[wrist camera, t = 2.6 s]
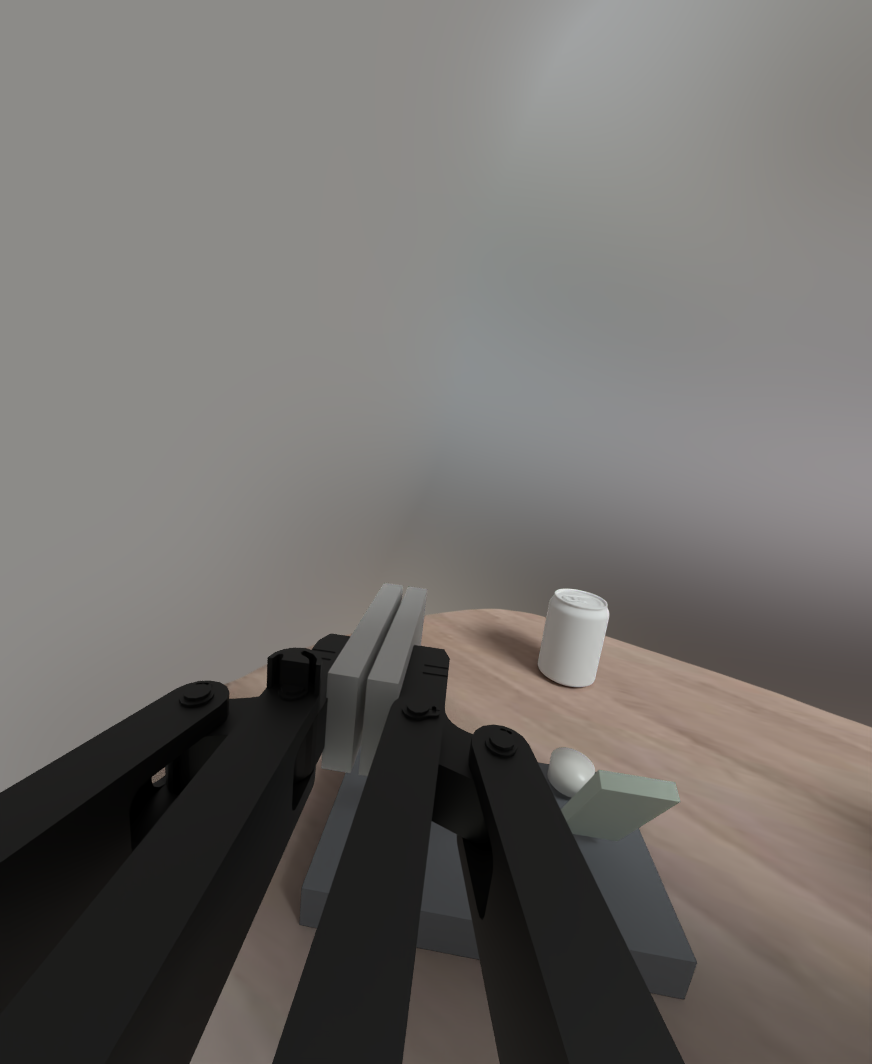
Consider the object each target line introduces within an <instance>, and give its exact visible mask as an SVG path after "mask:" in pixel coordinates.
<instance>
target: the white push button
mask: <svg viewBox="0 0 872 1064" xmlns="http://www.w3.org/2000/svg"><path fill="white" fill-rule="evenodd" d="M594 774H595V768H594V765H593V763H592V762H591V761H590V759H589V758H588V757H586V756H585V755H584V754H582V753H581V752H579V751H577V750H574V749H571V748H565V747H562V748H557V749H555V750H554V751H553V752H552V755H551V759H550V764H549V769H548V779H549V781H550V783H551V784H552V786H553V787H554V788H555V789H556V790H557V791H559V792H560V793H562V794H564V795H566V796H568V797H571V798H572V797H573V796H574V795H575V794H576V793H577V792H578V791H579V790H580V789H581V788H582V787H583V786H584V785H585V784H586V783H587V782H588V781H589V780H590V779H591V777H592V776H593V775H594Z"/></svg>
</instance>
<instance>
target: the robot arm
mask: <svg viewBox="0 0 872 1064" xmlns="http://www.w3.org/2000/svg"><path fill="white" fill-rule="evenodd" d="M402 592H403V586H402V585H396V584H389V583H384V585H383V586H382V588H381V589H380V591H379V592H378V594H377V595H376V597H375V599H374V600H373V602H372V603H371V605H370V607H369V608H368V610H367V611H366V613H365V615H364V616H363V618H362V619H361V621H360V623H359V624H358V626H357V627H356V629H355V630H354V632H353V634H352V635H351V637H350V636H344V635H337V634H329V635H327V636H326V637H324V638H322V639H320V640H319V641H318V642H317V643H316V644H315V646H314V647H313V648H312V650H310V649H306V648H289V649H283V650H280V651H277V652H275V653H273V654H272V655H271V656H269V657H268V664H267V688H266V689H265V690H264V692H263V693H262V694H261V695H260V696H259V697H252V698H237V699H229V690H228V688H227V686H225V685H224V684H222V683H220V682H215V681H197V682H194V683H189V684H186V685H184V686H181V687H179V688H177V689H175V690H173V691H172V692H170V693H168V694H167V695H165V696H163V697H161V698H160V699H158V700H156V701H155V702H153V703H151V704H150V705H148V706H146V707H145V708H143V709H141V710H139V711H138V712H136V713H134V714H133V715H131V716H129V717H128V718H126V719H124V720H123V721H121V722H119V723H118V724H116V725H114V726H112V727H111V728H109V729H108V730H106V731H104V732H102V733H101V734H99V735H97V736H96V737H94V738H92V739H90V740H89V741H87V742H85V743H84V744H82V745H80V746H79V747H77V748H75V749H74V750H72V751H70V752H69V753H67V754H65V755H63V756H62V757H60V758H58V759H57V760H55V761H53V762H52V763H50V764H48V765H47V766H45V767H43V768H42V769H40V770H38V771H36V772H35V773H33V774H31V775H30V776H28V777H26V778H25V779H23V780H21V781H20V782H18V783H16V784H14V785H13V786H11V787H9V788H8V789H6V790H5V791H3V792H1V793H0V1064H189V1063H190V1061H191V1059H192V1057H193V1054H194V1052H195V1050H196V1048H197V1045H198V1043H199V1041H200V1039H201V1036H202V1034H203V1032H204V1030H205V1027H206V1025H207V1023H208V1021H209V1018H210V1016H211V1014H212V1012H213V1009H214V1007H215V1005H216V1003H217V1001H218V998H219V996H220V994H221V992H222V989H223V987H224V985H225V983H226V980H227V978H228V976H229V974H230V971H231V969H232V967H233V965H234V962H235V960H236V958H237V956H238V953H239V951H240V949H241V947H242V944H243V942H244V940H245V938H246V935H247V933H248V931H249V929H250V926H251V924H252V922H253V920H254V917H255V915H256V913H257V911H258V909H259V906H260V904H261V902H262V900H263V897H264V895H265V893H266V891H267V888H268V886H269V884H270V882H271V879H272V877H273V875H274V873H275V870H276V868H277V866H278V864H279V861H280V859H281V857H282V855H283V852H284V850H285V848H286V846H287V843H288V841H289V839H290V837H291V834H292V832H293V830H294V828H295V826H296V823H297V821H298V819H299V817H300V814H301V812H302V810H303V808H304V805H305V803H306V801H307V799H308V796H309V794H310V792H311V790H312V787H313V785H314V780H315V770H316V764H317V762H318V760H319V758H320V756H321V754H322V767H321V768H322V769H328V770H334V771H340V772H346V773H351V770H352V768H353V765H354V762H355V760H356V757H357V754H358V751H359V749H360V746H361V754H360V765H359V775H363V776H367V779H366V782H365V786H364V789H363V792H362V795H361V798H360V801H359V804H358V807H357V810H356V813H355V816H354V819H353V822H352V825H351V828H350V831H349V834H348V837H347V840H346V843H345V846H344V849H343V852H342V855H341V858H340V861H339V864H338V867H337V870H336V873H335V876H334V879H333V882H332V885H331V888H330V891H329V894H328V897H327V900H326V903H325V906H324V909H323V912H322V915H321V918H320V921H319V924H318V927H317V930H316V933H315V936H314V939H313V942H312V945H311V948H310V951H309V954H308V957H307V960H306V963H305V966H304V969H303V972H302V975H301V978H300V981H299V984H298V987H297V990H296V993H295V996H294V999H293V1002H292V1005H291V1008H290V1011H289V1014H288V1017H287V1020H286V1023H285V1026H284V1029H283V1032H282V1035H281V1038H280V1041H279V1044H278V1047H277V1050H276V1053H275V1056H274V1059H273V1062H272V1064H402V1060H403V1052H404V1043H405V1035H406V1027H407V1019H408V1011H409V1002H410V994H411V986H412V978H413V970H414V962H415V953H416V945H417V937H418V929H419V921H420V912H421V904H422V896H423V888H424V880H425V871H426V863H427V855H428V847H429V839H430V830H431V822H434V823H436V824H438V825H440V826H442V827H444V828H446V829H447V830H449V831H451V832H453V833H455V834H457V846H458V851H459V856H460V861H461V867H462V872H463V877H464V882H465V887H466V892H467V897H468V903H469V908H470V913H471V918H472V923H473V928H474V933H475V938H476V944H477V949H478V954H479V959H480V964H481V969H482V974H483V979H484V985H485V990H486V995H487V1000H488V1005H489V1010H490V1015H491V1020H492V1026H493V1031H494V1036H495V1041H496V1046H497V1051H498V1056H499V1062H500V1064H685V1063H684V1061H683V1059H682V1057H681V1055H680V1053H679V1051H678V1049H677V1047H676V1045H675V1043H674V1041H673V1039H672V1037H671V1035H670V1033H669V1031H668V1028H667V1026H666V1024H665V1022H664V1020H663V1018H662V1016H661V1014H660V1012H659V1010H658V1008H657V1006H656V1004H655V1002H654V1000H653V998H652V996H651V994H650V992H649V990H648V988H647V985H646V983H645V981H644V979H643V977H642V975H641V973H640V971H639V969H638V967H637V965H636V963H635V961H634V959H633V957H632V955H631V953H630V951H629V949H628V947H627V944H626V942H625V940H624V938H623V936H622V934H621V932H620V930H619V928H618V926H617V924H616V922H615V920H614V918H613V916H612V914H611V912H610V910H609V908H608V906H607V903H606V901H605V899H604V897H603V895H602V893H601V891H600V889H599V887H598V885H597V883H596V881H595V879H594V877H593V875H592V873H591V871H590V869H589V867H588V865H587V862H586V860H585V858H584V856H583V854H582V852H581V850H580V848H579V846H578V844H577V842H576V840H575V838H574V836H573V834H572V832H571V830H570V828H569V826H568V824H567V822H566V819H565V817H564V815H563V813H562V811H561V809H560V807H559V805H558V803H557V801H556V799H555V797H554V795H553V793H552V791H551V789H550V787H549V785H548V783H547V781H546V778H545V776H544V774H543V772H542V770H541V768H540V766H539V764H538V762H537V760H536V758H535V756H534V754H533V752H532V750H531V748H530V746H529V744H528V743H527V741H526V740H525V739H524V737H523V736H521V735H520V734H518V733H517V732H516V731H514V730H512V729H510V728H507V727H505V726H499V725H487V726H482V727H481V728H479V729H477V730H476V731H475V732H474V734H471V733H468V732H466V731H464V730H462V729H460V728H458V727H457V726H456V725H454V724H453V723H452V722H451V721H450V720H449V719H448V717H447V715H446V713H445V699H446V689H447V679H448V669H449V660H450V658H449V657H448V655H447V653H446V652H445V650H444V649H438V648H431V647H425V646H421V639H422V630H423V622H424V614H425V605H426V597H427V589H424V588H416V587H410V586H409V587H408V589H407V591H406V593H405V595H404V598H403V600H402ZM401 600H402V601H401ZM322 751H323V752H322ZM164 767H165V773H166V775H165V776H164V777H163V778H161V779H160V780H158V781H157V782H155V783H153V784H152V778H151V777H152V776H154V775H155V774H156V773H157V772H159V771H160V770H161V769H163V768H164Z"/></svg>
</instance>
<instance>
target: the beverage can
mask: <svg viewBox="0 0 872 1064" xmlns="http://www.w3.org/2000/svg"><path fill="white" fill-rule="evenodd" d="M607 606H608V604H607V602H606V601H605V600H604V599H602V598H601V597H599V596H597V595H594V594H592V593H589V592H585V591H581V590H575V589H559V590H556V591H555V594H554V596H552V597H551V599H550V601H549V606H548V611H547V617H546V622H545V627H544V632H543V638H542V643H541V648H540V653H539V659H538V667H539V669H540V671H541V672H542V673H543V674H544V675H545V676H547V677H548V678H549V679H551V680H553V681H555V682H557V683H559V684H562V685H565V686H570V687H586V686H589V685H591V684H592V683H593V682H594V681H595V677H596V672H597V668H598V664H599V659H600V655H601V650H602V646H603V641H604V637H605V632H606V628H607V624H608V619H609V611H608V608H607Z"/></svg>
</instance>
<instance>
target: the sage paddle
mask: <svg viewBox="0 0 872 1064" xmlns="http://www.w3.org/2000/svg"><path fill="white" fill-rule="evenodd" d="M678 803H680V799H679V795H678V791H677V787H676V784H675V782H670V781H664V780H658V779H652V778H646V777H640V776H634V775H628V774H622V773H616V772H609V771H603V770H598V771H597V772H596V773H595V774H594V775H593V776H592V777H591V779H590V780H589V781H588V782H587V783H586V784H585V785H584V786H583V787H582V788H581V789H580V790H579V791H578V792H577V793H576V794H575V795H574V796H573V797H572V798H571V799H570V800H569V801H568V803H567V804H566V805H565V806H564V807H563V808H562V809H561V811H562V813H563V815H564V817H565V819H566V822H567V824H568V826H569V828H570V830H571V832H572V834H577V835H583V836H589V837H594V838H600V839H606V840H612V841H619V840H620V839H622V838H623V837H625V836H627V835H628V834H630V833H631V832H633V831H635V830H636V829H638V828H639V827H641V826H643V825H644V824H646V823H648V822H649V821H651V820H652V819H654V818H656V817H657V816H659V815H660V814H662V813H664V812H665V811H667V810H668V809H670V808H672V807H673V806H675V805H676V804H678Z"/></svg>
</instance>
